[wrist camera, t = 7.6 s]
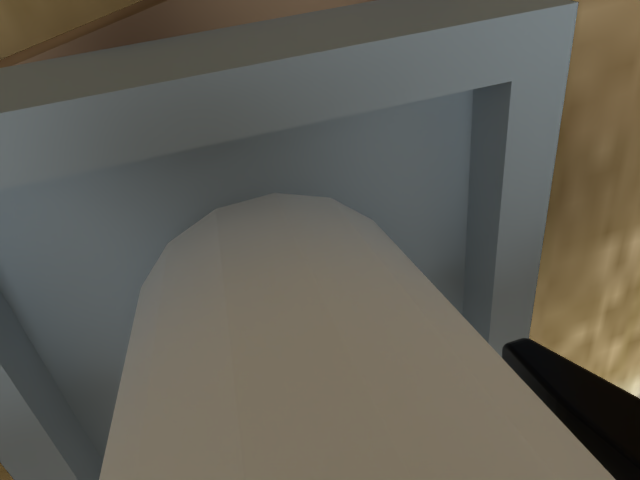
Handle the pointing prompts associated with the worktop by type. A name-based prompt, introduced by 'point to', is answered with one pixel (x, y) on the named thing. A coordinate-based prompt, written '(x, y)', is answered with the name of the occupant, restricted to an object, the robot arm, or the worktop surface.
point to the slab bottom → (165, 24)
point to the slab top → (264, 177)
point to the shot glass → (317, 364)
